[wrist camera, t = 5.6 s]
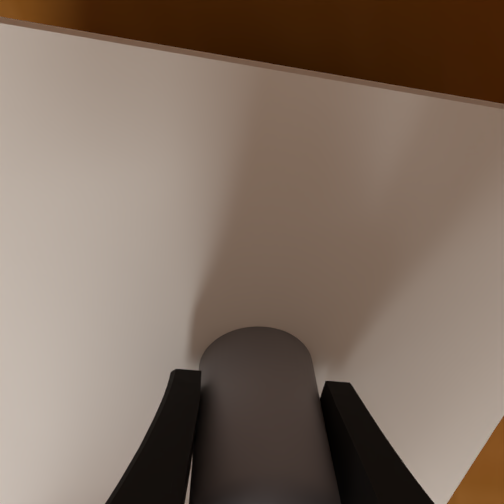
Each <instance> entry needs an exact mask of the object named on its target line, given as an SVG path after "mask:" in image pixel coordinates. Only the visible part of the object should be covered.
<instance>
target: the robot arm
mask: <svg viewBox="0 0 504 504" xmlns="http://www.w3.org/2000/svg"><path fill="white" fill-rule="evenodd" d="M200 394H201V371H199V370H186V369H175V370H173V371H171V373H170V377H169V381H168V384H167V387H166V390H165V393H164V396H163V398H162V401H161V403H160V405H159V408H158V410H157V412H156V414H155V417H154V419H153V421H152V423H151V425H150V427H149V429H148V431H147V433H146V435H145V437H144V439H143V441H142V443H141V445H140V446H139V448H138V450H137V452H136V454H135V455H134V457H133V459H132V460H131V462H130V464H129V466H128V467H127V469H126V471H125V472H124V474H123V476H122V478H121V479H120V481H119V482H118V484H117V486H116V487H115V489H114V490H113V492H112V494H111V495H110V497H109V498H108V500H107V501H106V503H105V504H185V499H186V493H187V487H188V481H189V475H190V469H191V462H192V454H193V444H194V437H195V431H196V425H197V418H198V410H199V403H200ZM320 402H321V407H322V412H323V417H324V422H325V427H326V432H327V437H328V441H329V446H330V451H331V456H332V461H333V466H334V471H335V476H336V481H337V486H338V491H339V496H340V501H341V504H435V503H434V502H433V501H432V500H431V498H430V497H429V496H428V494H427V493H426V492H425V491H424V489H423V488H422V487H421V485H420V484H419V483H418V482H417V480H416V479H415V478H414V476H413V475H412V474H411V472H410V471H409V470H408V468H407V467H406V465H405V464H404V463H403V461H402V460H401V458H400V457H399V456H398V454H397V453H396V451H395V450H394V448H393V447H392V446H391V444H390V443H389V441H388V440H387V438H386V437H385V435H384V434H383V432H382V431H381V429H380V428H379V426H378V425H377V423H376V422H375V420H374V419H373V417H372V416H371V414H370V413H369V411H368V410H367V408H366V406H365V405H364V403H363V402H362V400H361V399H360V397H359V395H358V394H357V392H356V391H355V389H354V388H353V386H352V385H351V383H350V382H337V381H325V384H324V387H323V390H322V393H321V397H320Z"/></svg>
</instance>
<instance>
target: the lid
mask: <svg viewBox="0 0 504 504" xmlns="http://www.w3.org/2000/svg"><path fill="white" fill-rule="evenodd" d="M175 369H186V370H199V371H201V394H200V403H199V410H198V418H197V425H196V431H195V437H194V444H193V454H192V462H191V469H190V475H189V481H188V487H187V493H186V499H185V504H341V501H340V496H339V491H338V486H337V481H336V476H335V471H334V466H333V461H332V456H331V451H330V446H329V441H328V437H327V432H326V427H325V422H324V417H323V412H322V407H321V402H320V397H321V393H322V390H323V387H324V384H325V381H337V382H350V383H351V385H352V386H353V388H354V389H355V391H356V392H357V394H358V395H359V397H360V399H361V400H362V402H363V403H364V405H365V406H366V408H367V410H368V411H369V413H370V414H371V416H372V417H373V419H374V420H375V422H376V423H377V425H378V426H379V428H380V429H381V431H382V432H383V434H384V435H385V437H386V438H387V440H388V441H389V443H390V444H391V446H392V447H393V448H394V450H395V451H396V453H397V454H398V456H399V457H400V458H401V460H402V461H403V463H404V464H405V465H406V467H407V468H408V470H409V471H410V472H411V474H412V475H413V476H414V478H415V479H416V480H417V482H418V483H419V484H420V485H421V487H422V488H423V489H424V491H425V492H426V493H427V494H428V496H429V497H430V498H431V500H432V501H433V502H434V503H435V504H447V502H448V501H449V499H450V497H451V496H452V494H453V493H454V491H455V490H456V488H457V487H458V485H459V484H460V482H461V480H462V479H463V477H464V476H465V474H466V473H467V471H468V470H469V468H470V467H471V465H472V463H473V462H474V460H475V459H476V457H477V456H478V454H479V453H480V451H481V449H482V448H483V446H484V445H485V443H486V442H487V440H488V439H489V437H490V436H491V434H492V432H493V431H494V429H495V428H496V426H497V425H498V423H499V422H500V420H501V419H502V417H503V415H504V104H502V103H496V102H490V101H484V100H479V99H473V98H467V97H461V96H456V95H450V94H444V93H438V92H432V91H427V90H421V89H415V88H409V87H404V86H398V85H392V84H386V83H380V82H375V81H369V80H363V79H357V78H352V77H346V76H340V75H334V74H328V73H323V72H317V71H311V70H305V69H300V68H294V67H288V66H282V65H276V64H271V63H265V62H259V61H253V60H247V59H242V58H236V57H230V56H224V55H219V54H213V53H207V52H201V51H195V50H190V49H184V48H178V47H172V46H167V45H161V44H155V43H149V42H143V41H138V40H132V39H126V38H120V37H115V36H109V35H103V34H97V33H91V32H86V31H80V30H74V29H68V28H63V27H57V26H51V25H45V24H39V23H34V22H28V21H22V20H16V19H11V18H5V17H0V504H105V503H106V501H107V500H108V498H109V497H110V495H111V494H112V492H113V490H114V489H115V487H116V486H117V484H118V482H119V481H120V479H121V478H122V476H123V474H124V472H125V471H126V469H127V467H128V466H129V464H130V462H131V460H132V459H133V457H134V455H135V454H136V452H137V450H138V448H139V446H140V445H141V443H142V441H143V439H144V437H145V435H146V433H147V431H148V429H149V427H150V425H151V423H152V421H153V419H154V417H155V414H156V412H157V410H158V408H159V405H160V403H161V401H162V398H163V396H164V393H165V390H166V387H167V384H168V381H169V377H170V373H171V371H173V370H175Z"/></svg>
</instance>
